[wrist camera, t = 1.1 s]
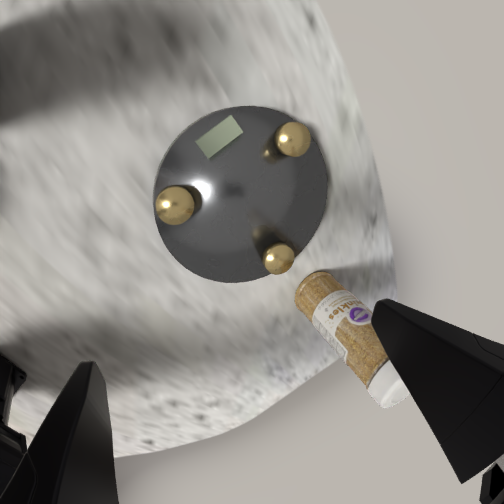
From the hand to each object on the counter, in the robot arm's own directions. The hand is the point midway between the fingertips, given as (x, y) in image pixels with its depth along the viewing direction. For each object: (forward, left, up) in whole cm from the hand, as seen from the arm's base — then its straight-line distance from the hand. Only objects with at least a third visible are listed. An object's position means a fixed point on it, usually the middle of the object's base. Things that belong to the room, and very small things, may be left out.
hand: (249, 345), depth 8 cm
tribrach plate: (+4, -3, -14) cm, 14 cm away
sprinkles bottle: (+4, -15, -14) cm, 21 cm away
